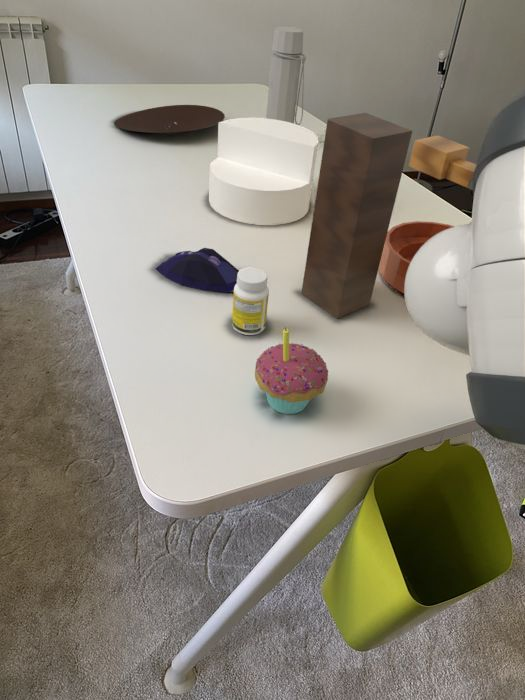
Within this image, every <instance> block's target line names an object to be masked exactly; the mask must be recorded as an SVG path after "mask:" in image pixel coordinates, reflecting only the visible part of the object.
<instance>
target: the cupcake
mask: <svg viewBox="0 0 525 700" xmlns="http://www.w3.org/2000/svg"><path fill="white" fill-rule="evenodd" d="M283 328H284V329H283V330H282V343H280V344H276V345H274V346H271V347H267V349H265V350H264V351H263V352H262V353H261V354H260V355H259V357H258V358H257V359H256V362H255V369H254V378H255V381H256V383H257V385H258V387H259V388H260V390H262V391H263V392H265V396H266V399H267V402H268V405H269V406H270V407H271V408H272V409H273V410H275V411H276V412H278V413H281V414H285V415H294V414H298V413H300V412H302V411H304V410H305V409H306V407H307V405H308V404H309V402H310V401H311V400H312V399H314V398H316V397H317V396H319V395H321V394H323V392H324V391H325V389H326V386H327V383H328V381H329V380H328V379H329V370H328V366H327V363H326V362H325V361H324V359H323V357H321V355H320V354H318V352H317V351H316V350H314V349H313V348H310V347H308V346H305V345H303V343H300V344H298V343H293V342H291V343H290V330H289V328H287V325H286V324H284V325H283Z"/></svg>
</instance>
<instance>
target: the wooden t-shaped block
mask: <svg viewBox="0 0 525 700" xmlns="http://www.w3.org/2000/svg"><path fill="white" fill-rule="evenodd" d="M469 151H470V147H469V146H467V145H464V144H461V143H459V142H456V141H454V140H451V139H448V138H447V137H443V136H441V135H433V136H428V137H423V138H418V139H415V140H414V143H413V147H412V150H411V155H410V159H409V162H408V167H410V168H411V169H414V170H417V171H418V172H421V173H423V174H426V175H428V176H430V177H433V178H435V179H437V180H444V179H446V180H448V181H450V182H452V183H454V184H457V185H459V186H461V187H464V188H466V189H469V188H468V184H469V182H470V179H471V177H472V175H473V173H474V171H475V168H476V164H477V163H474V162H471V161H468V160H467V157H468V153H469Z"/></svg>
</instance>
